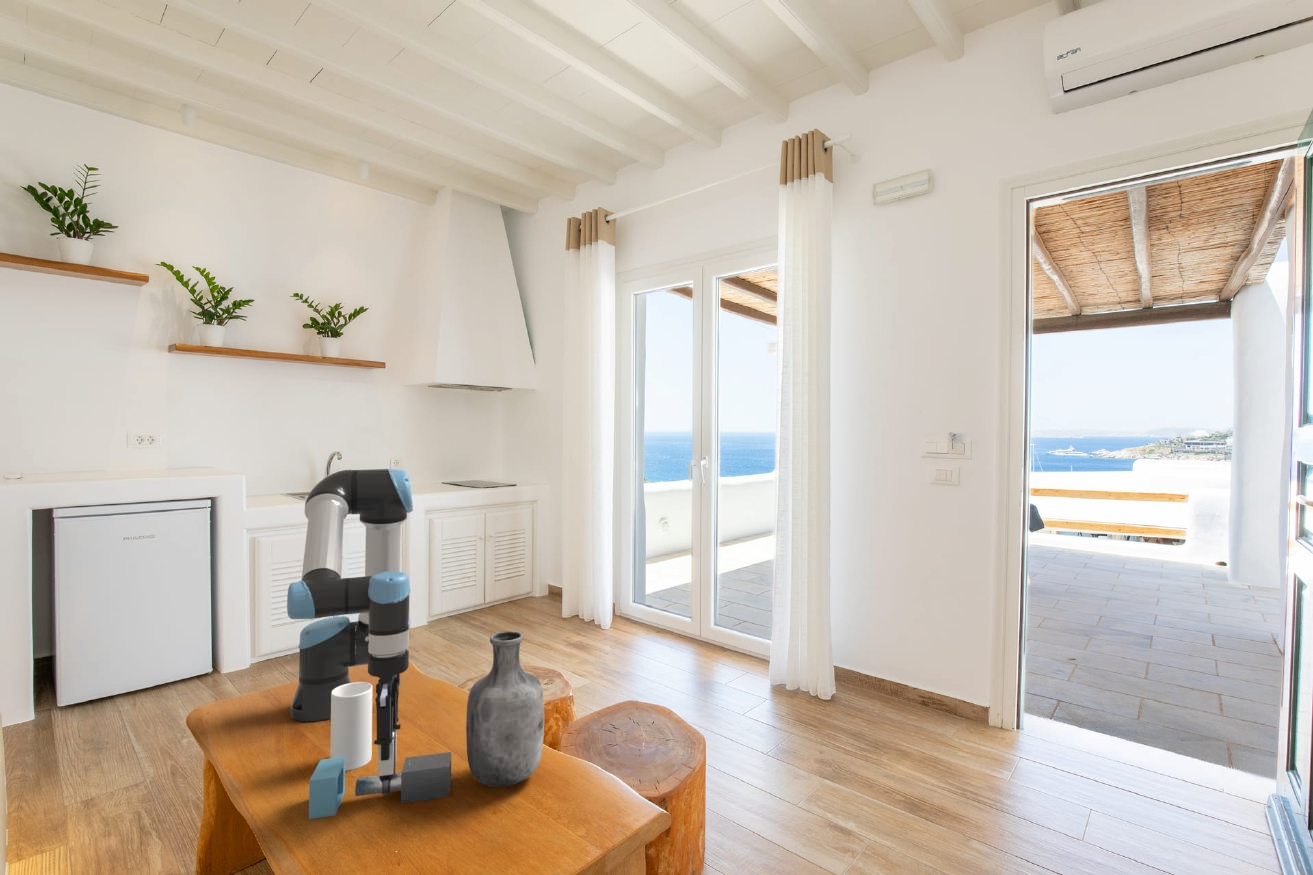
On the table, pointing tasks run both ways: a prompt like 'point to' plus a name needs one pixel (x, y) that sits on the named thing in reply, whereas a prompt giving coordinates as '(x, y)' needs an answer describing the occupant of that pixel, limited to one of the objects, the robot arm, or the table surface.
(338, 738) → the cup
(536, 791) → the table surface
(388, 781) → the handle
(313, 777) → the socket
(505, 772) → the vase
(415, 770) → the block
